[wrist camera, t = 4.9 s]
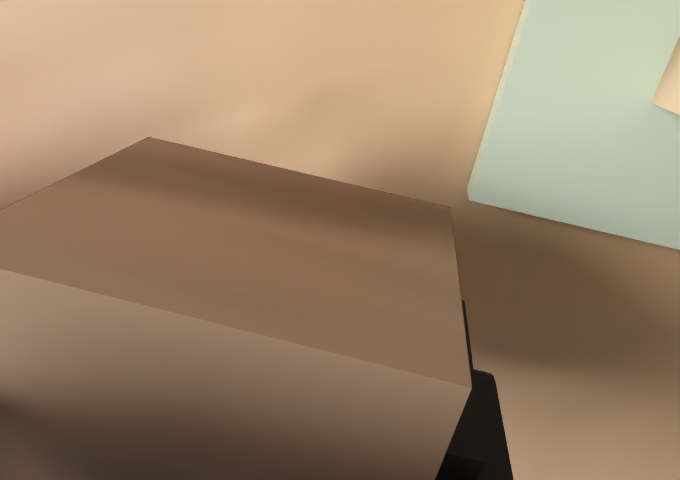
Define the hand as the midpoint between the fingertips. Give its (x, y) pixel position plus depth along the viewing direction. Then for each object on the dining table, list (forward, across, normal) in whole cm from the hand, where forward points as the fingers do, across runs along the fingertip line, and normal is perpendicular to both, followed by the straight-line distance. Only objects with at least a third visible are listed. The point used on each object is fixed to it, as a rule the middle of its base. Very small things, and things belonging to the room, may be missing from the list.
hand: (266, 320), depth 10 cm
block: (+1, 0, 0) cm, 1 cm away
